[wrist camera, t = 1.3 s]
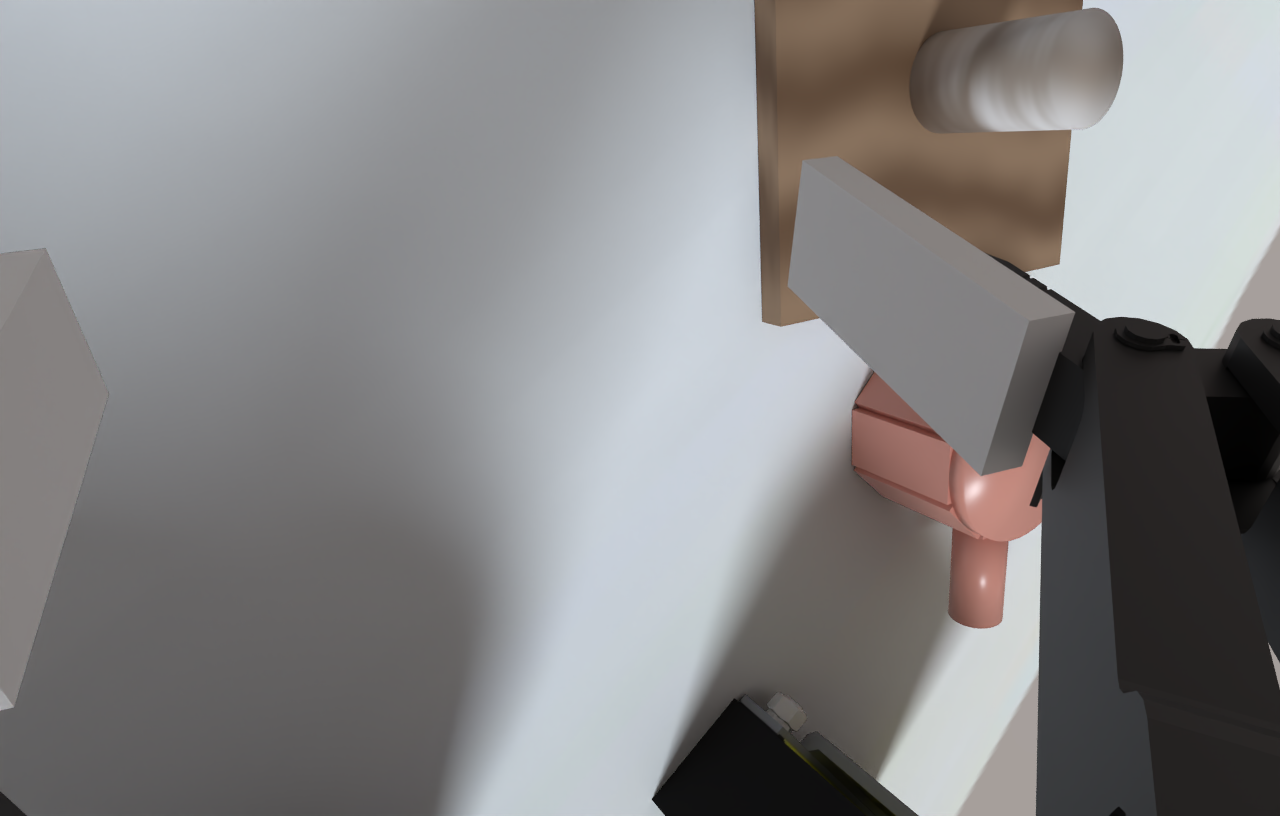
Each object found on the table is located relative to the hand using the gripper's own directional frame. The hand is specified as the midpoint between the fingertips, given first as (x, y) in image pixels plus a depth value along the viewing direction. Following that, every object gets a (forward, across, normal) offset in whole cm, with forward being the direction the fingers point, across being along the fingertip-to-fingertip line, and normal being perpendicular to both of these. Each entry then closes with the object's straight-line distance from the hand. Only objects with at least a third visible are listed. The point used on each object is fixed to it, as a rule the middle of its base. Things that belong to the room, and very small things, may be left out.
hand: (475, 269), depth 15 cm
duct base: (+26, -28, +5) cm, 38 cm away
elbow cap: (+19, -27, +26) cm, 42 cm away
